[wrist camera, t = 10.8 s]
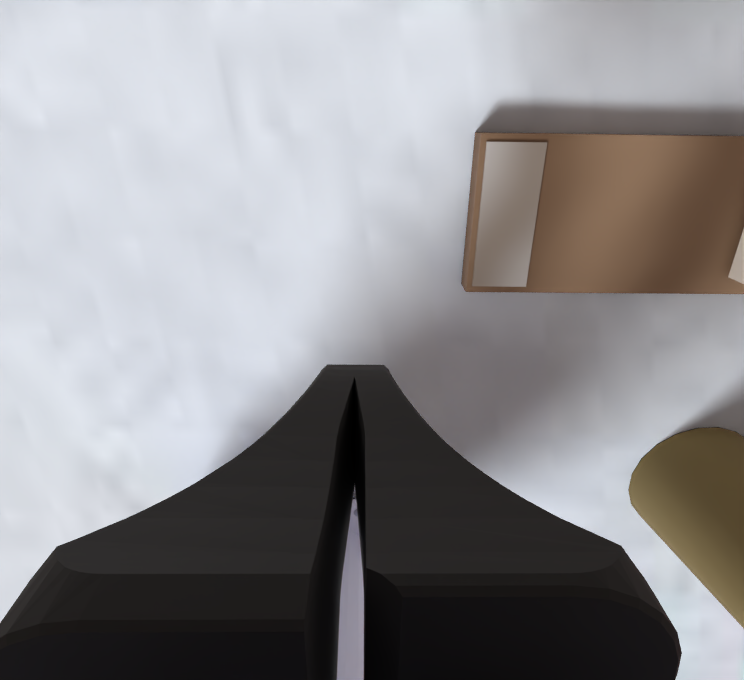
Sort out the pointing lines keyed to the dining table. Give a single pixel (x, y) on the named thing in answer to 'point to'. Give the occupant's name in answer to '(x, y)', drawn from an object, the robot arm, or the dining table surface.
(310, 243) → the dining table surface
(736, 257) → the cream cube block
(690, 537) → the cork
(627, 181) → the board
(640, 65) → the dining table surface
